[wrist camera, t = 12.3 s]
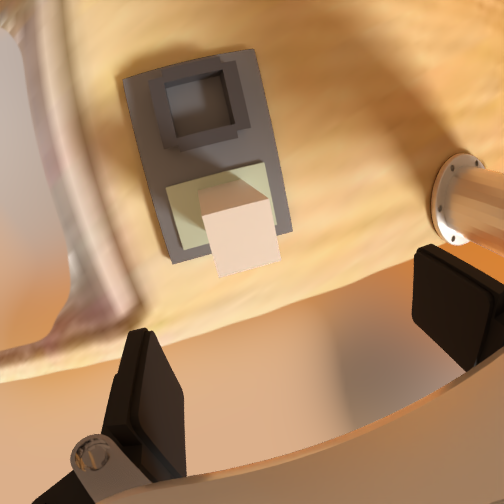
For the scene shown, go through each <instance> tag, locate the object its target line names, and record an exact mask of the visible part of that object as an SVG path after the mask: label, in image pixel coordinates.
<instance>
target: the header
mask: <svg viewBox="0 0 504 504" xmlns="http://www.w3.org/2000/svg"><path fill="white" fill-rule="evenodd" d="M123 85H124V89H125V94H126V99H127V103H128V108H129V112H130V117H131V121H132V125H133V129H134V133H135V138H136V142H137V146H138V150H139V153H140V157H141V161H142V165H143V169H144V172H145V176H146V180H147V183H148V187H149V190H150V194H151V197H152V201H153V204H154V207H155V211H156V214H157V217H158V221H159V224H160V227H161V230H162V234H163V237H164V240H165V243H166V246H167V249H168V252H169V255H170V258H171V261H172V264H176V263H180V262H183V261H187V260H191V259H194V258H198V257H201V256H205V255H209V254H212V251H211V248H210V244H209V241H208V237H207V233H206V230H205V226H204V222H203V219H202V214H201V209H200V203H199V197H198V190H201V189H205V188H209V187H212V186H216V185H220V184H224V183H228V182H232V181H236V180H240V179H242V180H243V181H245V182H246V183H248V184H249V185H250V186H252V187H253V188H255V189H256V190H258V191H259V192H260V193H262V194H263V195H265V196H266V197H267V198H269V201H270V206H271V210H272V215H273V220H274V225H275V230H276V235H277V236H278V235H281V234H285V233H289V232H292V231H293V230H292V224H291V219H290V213H289V208H288V202H287V197H286V192H285V187H284V182H283V177H282V172H281V167H280V162H279V157H278V152H277V147H276V142H275V138H274V133H273V128H272V124H271V119H270V115H269V110H268V106H267V101H266V97H265V93H264V88H263V84H262V80H261V76H260V71H259V67H258V63H257V59H256V55H255V51H254V49H249V50H242V51H235V52H229V53H224V54H218V55H213V56H208V57H203V58H198V59H194V60H190V61H185V62H181V63H177V64H173V65H169V66H165V67H162V68H158V69H155V70H151V71H148V72H145V73H141V74H138V75H135V76H132V77H129V78H126V79H123Z"/></svg>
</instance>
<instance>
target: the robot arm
mask: <svg viewBox="0 0 504 504" xmlns="http://www.w3.org/2000/svg"><path fill="white" fill-rule="evenodd" d="M431 213H432V220H433V224H434V227H435V229H436V231H437V233H438V235H439V236H440V237H441V238H442V239H443V240H444V241H446V242H447V243H449V244H452V245H463V244H465V243H467V242H469V241H472V242H474V243H476V244H479V245H481V246H483V247H485V248H487V249H489V250H491V251H493V252H495V253H497V254H499V255H501V256H503V257H504V173H500V172H496V171H491V170H487V169H485V168H484V166H483V164H482V163H481V161H480V160H479V159H478V158H476V157H475V156H473V155H470V154H465V153H460V154H456V155H454V156H452V157H450V158H449V159H448V160H447V161H446V162H445V163H444V165H443V166H442V167H441V169H440V171H439V173H438V175H437V178H436V180H435V183H434V187H433V191H432V199H431ZM412 319H413V321H414V322H415V324H417V325H418V326H419V327H420V328H421V329H422V330H423V331H424V332H425V333H426V334H427V335H428V336H430V338H432V339H433V340H434V341H435V342H436V343H437V344H438V345H439V346H440V347H441V348H442V349H443V350H444V351H445V352H446V353H447V354H448V355H449V356H450V357H451V358H452V359H454V361H456V363H457V364H458V365H459V366H460V367H461V368H463V369H464V370H465V371H466V373H465V374H463V375H461V376H460V377H458V378H456V379H455V380H453V381H451V382H450V383H448V384H447V385H445V386H443V387H441V388H440V389H438V390H436V391H434V392H433V393H431V394H429V395H427V396H426V397H424V398H422V399H420V400H418V401H416V402H414V403H412V404H411V405H408V406H407V407H404V408H403V409H400V410H398V411H396V412H394V413H392V414H390V415H388V416H386V417H384V418H382V419H379V420H377V421H375V422H373V423H370V424H368V425H366V426H364V427H361V428H359V429H357V430H354V431H351V432H349V433H347V434H344V435H341V436H339V437H336V438H334V439H331V440H328V441H325V442H322V443H320V444H317V445H314V446H311V447H308V448H305V449H302V450H299V451H295V452H292V453H289V454H285V455H282V456H278V457H275V458H271V459H268V460H264V461H260V462H256V463H252V464H248V465H243V466H239V467H236V468H230V469H226V470H221V471H216V472H211V473H205V474H199V475H193V476H188V477H186V476H187V475H186V474H187V472H186V454H185V429H184V395H183V391H182V388H181V386H180V384H179V382H178V380H177V378H176V376H175V374H174V372H173V371H172V369H171V367H170V365H169V362H168V361H167V359H166V356H165V354H164V352H163V350H162V348H161V346H160V344H159V342H158V340H157V337H156V335H155V333H154V332H153V331H148V330H147V328H141V329H137V330H133V331H129V333H128V336H127V339H126V343H125V347H124V350H123V354H122V358H121V362H120V366H119V370H118V373H117V374H116V375H115V376H114V379H113V383H112V387H111V392H110V395H109V400H108V404H107V408H106V413H105V417H104V422H103V427H102V431H101V434H94V435H90V436H87V437H85V438H83V439H82V440H81V441H80V442H78V443H77V444H76V446H75V447H74V449H73V450H72V453H71V458H70V461H71V465H72V468H73V471H71V472H70V473H69V474H67V475H66V476H65V477H64V478H62V479H61V480H60V481H59V482H57V483H56V484H55V485H54V486H52V487H51V488H50V489H49V490H47V491H46V492H44V493H43V494H42V495H41V496H39V497H38V498H37V499H35V501H34V502H33V503H32V504H504V284H502V283H500V282H499V281H497V280H495V279H494V278H492V277H490V276H489V275H487V274H485V273H483V272H482V271H480V270H478V269H476V268H475V267H473V266H471V265H470V264H468V263H466V262H464V261H462V260H461V259H459V258H457V257H456V256H453V255H452V254H450V253H448V252H446V251H445V250H443V249H441V248H439V247H437V246H435V245H433V244H429V245H426V246H423V247H420V248H418V249H417V252H416V254H415V255H414V281H413V301H412Z"/></svg>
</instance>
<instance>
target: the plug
mask: <svg viewBox="0 0 504 504" xmlns="http://www.w3.org/2000/svg"><path fill="white" fill-rule="evenodd" d="M198 197H199V203H200V209H201V214H202V219H203V222H204V226H205V230H206V233H207V237H208V241H209V244H210V248H211V251H212V255H213V258H214V262H215V265H216V269H217V272H218V276H219V278H221V277H224V276H228V275H232V274H235V273H239V272H242V271H246V270H250V269H253V268H257V267H260V266H264V265H267V264H271V263H274V262H278V261H281V256H280V251H279V246H278V241H277V235H276V230H275V225H274V220H273V215H272V210H271V206H270V201H269V198H267V197H266V196H265V195H263V194H262V193H260V192H259V191H258V190H256V189H255V188H253V187H252V186H250V185H249V184H248V183H246V182H245V181H243V180H242V179H240V180H236V181H232V182H228V183H224V184H220V185H216V186H212V187H209V188H205V189H201V190H198Z"/></svg>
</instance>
